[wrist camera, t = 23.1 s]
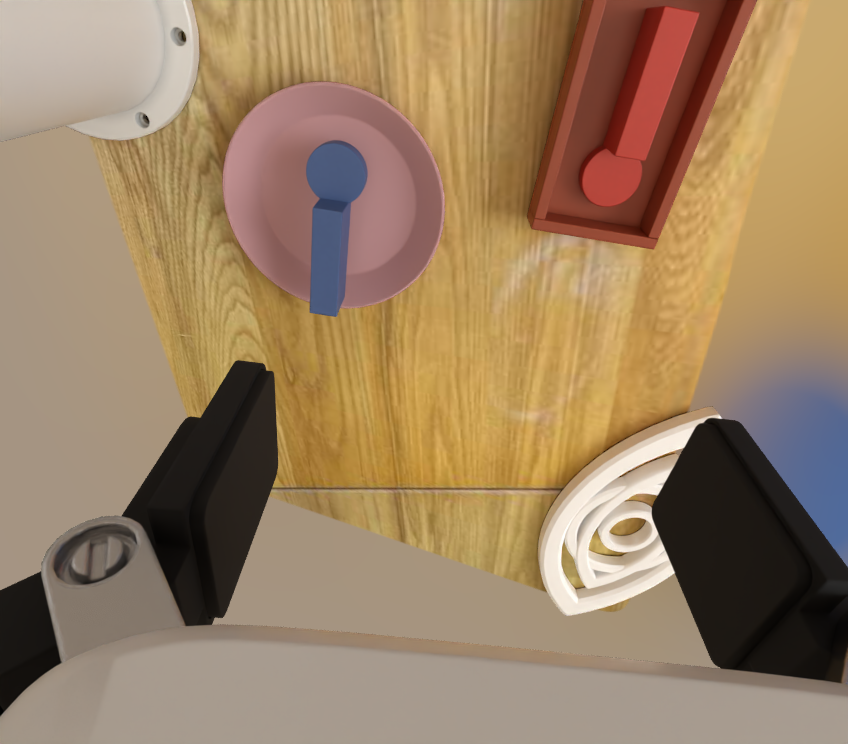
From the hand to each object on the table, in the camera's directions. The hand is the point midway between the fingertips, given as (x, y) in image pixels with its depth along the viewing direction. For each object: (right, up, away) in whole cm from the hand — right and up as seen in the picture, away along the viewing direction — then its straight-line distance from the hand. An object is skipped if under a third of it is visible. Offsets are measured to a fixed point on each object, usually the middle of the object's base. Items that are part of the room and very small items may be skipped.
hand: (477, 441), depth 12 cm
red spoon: (+11, +17, +19) cm, 28 cm away
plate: (-7, +13, +23) cm, 28 cm away
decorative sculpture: (+22, -2, +29) cm, 36 cm away
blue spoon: (-7, +11, +22) cm, 26 cm away
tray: (+11, +17, +20) cm, 28 cm away
